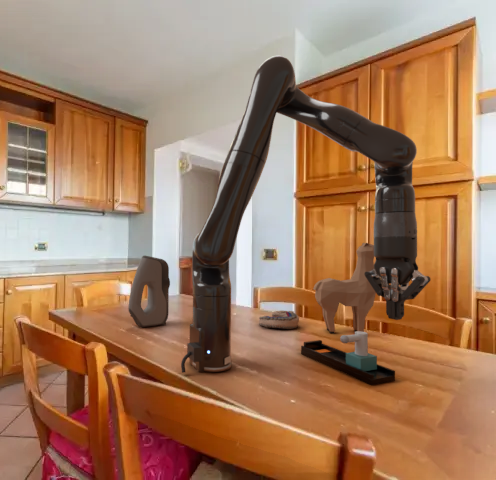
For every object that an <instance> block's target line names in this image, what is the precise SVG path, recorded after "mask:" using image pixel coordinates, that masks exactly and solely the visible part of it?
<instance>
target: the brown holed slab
mask: <svg viewBox="0 0 496 480" xmlns="http://www.w3.org/2000/svg"><path fill="white" fill-rule="evenodd" d="M145 286H147V304H146V307H145V308H144V309H143V308H142V300H143V294H144V290H145V289H144V288H145ZM170 286H171V280H170V267H169V264H168V262H167V261H166V260H164V259H163V258H159V257H155V256H149V255H142V256H141V258H140V259H139V263H138V266H137V268H136V271H135V273H134V277H133V280H132V284H131V288H130V294H129V298H128V308H127V309H128V313H129V314H130V317H131V318H132V320H133V321H134V323H135V324H136V326H139V327H141V328H149V327H156V326H162V325H163V326H166V325H167V320H168V319H169V301H170V300H169V299H170V297H169V296H170V295H169V293H170V291H169V290H170Z"/></svg>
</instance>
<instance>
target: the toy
mask: <svg viewBox="0 0 496 480" xmlns="http://www.w3.org/2000/svg"><path fill="white" fill-rule="evenodd" d="M355 252H356V256H357V260H356V266H355V269H354V271H353V274H352V275H351V278H349V279H344V280H340V279H335V278H331V277H327V278H323V279H320V280H318V281H316V283H315V284H314V286H313V289H312V290H314V291H315V292H314V297H315V300H316V302H317V304H318V306H320V307H321V310H322V316H323V320H324V324H325V328H326V331H328V332H329V334H333V335H335V334H336V326H335V316H336V314H337V312H338V309H339V305H340V304H341V305H343V306H344V307H351V311H352V327H353V328H352V329H353V332H354V333H355V331H362V332H365V325H366V317H367V316H368V314H369V312H370V311H371V309H372V308H373V306H374V303H375V300H376V299H375V298H376V295H377V294H376V292H375V291H374V289H373V287H372V286H371V284H370V283H369V281H368V280H367V278H366V277H365V275H364V273H365V272H368V271H371V270H372V269H373V268H374V263H375V261H374V259H375V256H374V244H371V243H369V242H362V243H361V245H359V246H358V247H357V249H356V251H355Z"/></svg>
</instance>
